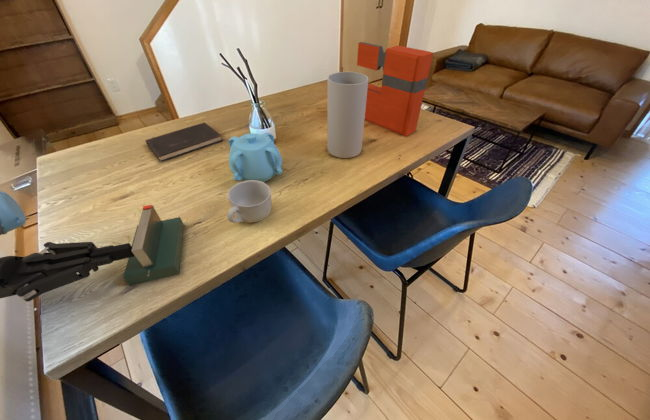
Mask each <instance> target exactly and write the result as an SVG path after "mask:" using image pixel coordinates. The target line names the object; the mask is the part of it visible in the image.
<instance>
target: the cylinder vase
mask: <svg viewBox="0 0 650 420" xmlns="http://www.w3.org/2000/svg"><path fill="white" fill-rule="evenodd" d="M368 84H369V77H368V75H367V74H364V73H361V72H356V71H338V72H337V71H336V72H334V73H331V74H329V75H328V76H327V90H326V91H327V95H326V96H327V105H326V106H327V107H326V108H327V109H326V111H327V124H326V125H327V129H326V130H327V131H326V132H327V137H326V138H327V143H326V144H327V147H326V148H327V151H328V153H329V155H332V157H333V156H334V157H335V158H339V159H352V158H354V157H357V156H359V155H360V154H361V152H362V150H363V141H364V130H365V121H366V120H365V110H366V99H367V89H368Z"/></svg>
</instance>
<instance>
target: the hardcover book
mask: <svg viewBox="0 0 650 420" xmlns="http://www.w3.org/2000/svg"><path fill="white" fill-rule="evenodd" d="M144 141H145V143H146V145H147V147H148V148H149V150H150V151H151V152H152V153H153V154H154V156H155V157H156V158H157V159H158V161H159V162H160V163H163V162H165V161H169V160H171V159H174V158H178V157H180V156H183V155H185V154H189V153H191V152H194V151H197V150H200V149H203V148H206V147H209V146H212V145H215V144H218V143H221V142H223V139H222V135H221V134H220V133H218V132H217V131H216V130H215V129H214V128H212V127H211V126H210V125H209V124H207V123H206V122H201V123H198V124H195V125H191V126H187V127H184V128H181V129H177V130H174V131H171V132H167V133H164V134H161V135H157V136H155V137H151V138H148V139H145V140H144Z"/></svg>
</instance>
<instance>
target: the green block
mask: <svg viewBox="0 0 650 420" xmlns="http://www.w3.org/2000/svg"><path fill="white" fill-rule="evenodd" d="M161 221H162V229H161V234H160V240H159V245H158V251H157V256H156V262H155V266H154V267H150V268H146V269H145V268H144V267H143V266H142V264H141V263H140V262H139V261H138V259H137V258H136V257H135V255H134V257H130V258H127V261H126V266H125V269H124V273H123V276H122V278H123V280H124V281H125V282H126V283H127V284H128V285H129V286H134V285H138V284H142V283H146V282H151V281H155V280H159V279H163V278H167V277H168V278H169V277H171V276H175V275H180V269H181V262H182V261H181V260H182V250H183V241H184V229H185V224H184V222H183V220H182V218H181V216H178V217H172V218H168V219H164V220H161ZM138 225H139V224H138ZM138 225H137V226H136V229H135V232H134V236H133V240H132V243H131V246H132V247H133V243H134V239H135V236H136V232H137V228H138ZM196 236H197V235H196V234H191V235H189V238H192V237H196Z"/></svg>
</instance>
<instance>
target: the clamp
mask: <svg viewBox="0 0 650 420" xmlns="http://www.w3.org/2000/svg"><path fill="white" fill-rule="evenodd" d="M357 45H358V46H357V59H356V66H359V67H360V68H361V67H362V68H366V69H369V70H373V71H379V70H381V68H382V80H381V86H377V85H376V84H372V83H368V89H367V99H366V110H365V120H364V121H367V122H369V123H371V124H375V125H377V126H380V127H381V128H384V129H386V130H389V131H391V132H394V133H397V134H399V135H401V136H404V137H408V136H410V135H412V134H413V133H415V132H416V130H417V126H418V121H419V118H420V113H421V109H422V104H423V100H424V97H425V96H424V95H425V91H426V88H427V83H428V78H429V75H430V71H431V65H432V61H433V58H434V52H433V51H429V50H422V49H418V48H412V47H408V46H404V45H394V46H391V47H387V48H385V51H384V48H383V46H382V45H378V44H373V43H368V42H364V41H360V42H358V43H357Z"/></svg>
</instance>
